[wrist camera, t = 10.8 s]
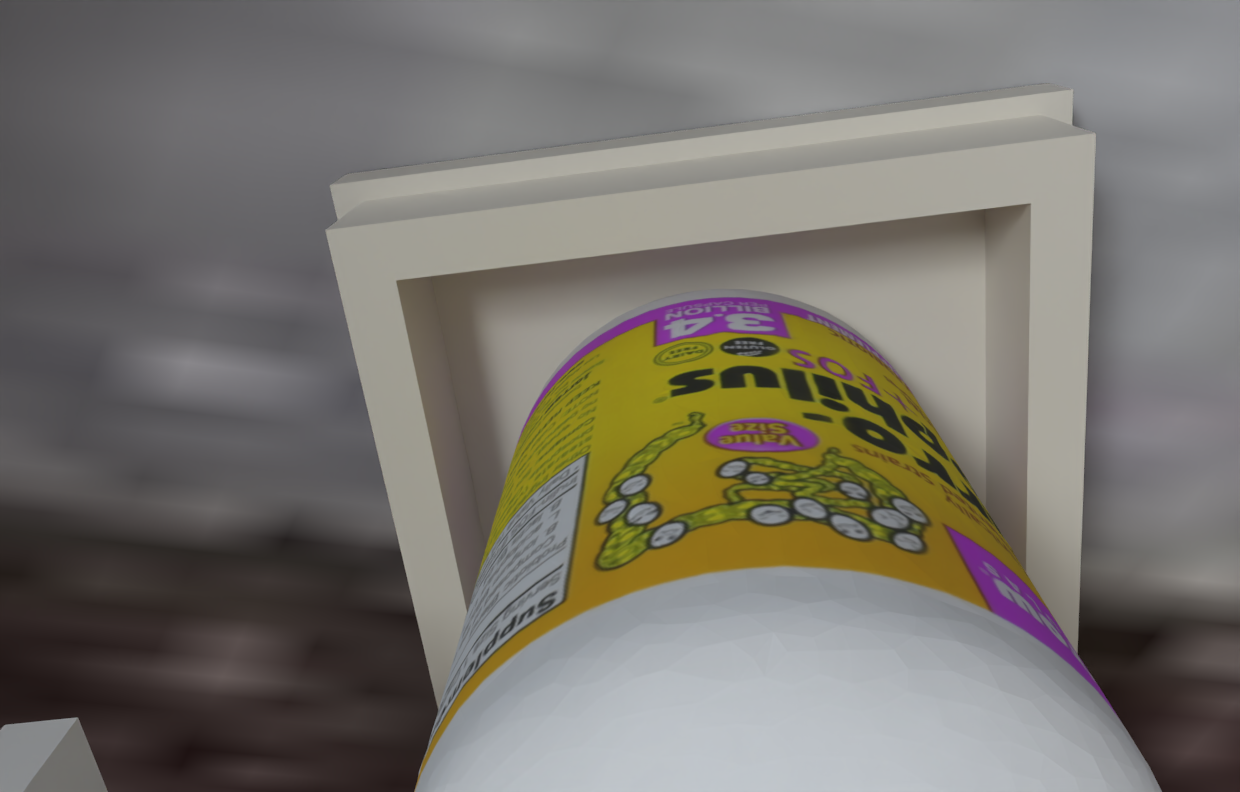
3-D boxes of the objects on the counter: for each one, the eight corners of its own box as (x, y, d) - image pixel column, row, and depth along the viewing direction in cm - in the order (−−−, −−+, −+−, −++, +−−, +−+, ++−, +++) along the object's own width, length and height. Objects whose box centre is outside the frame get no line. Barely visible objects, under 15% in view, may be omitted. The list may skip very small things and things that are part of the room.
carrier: (1031, 1012, 23) (1083, 1153, 20) (541, 1046, 24) (528, 1186, 21) (1048, 82, 16) (1132, 104, 13) (347, 174, 17) (286, 212, 14)
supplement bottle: (1003, 413, 17) (1866, 1448, 5) (767, 696, 19) (972, 1897, 7) (655, 191, 16) (686, 850, 4) (444, 520, 18) (41, 1605, 6)
